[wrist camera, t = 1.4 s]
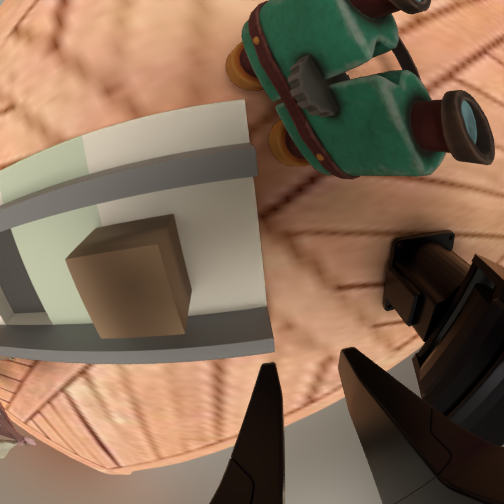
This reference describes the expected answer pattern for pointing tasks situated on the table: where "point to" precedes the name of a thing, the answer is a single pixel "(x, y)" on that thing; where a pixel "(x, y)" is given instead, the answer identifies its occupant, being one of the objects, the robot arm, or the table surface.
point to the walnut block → (133, 278)
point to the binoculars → (352, 91)
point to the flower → (9, 430)
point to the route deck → (129, 209)
